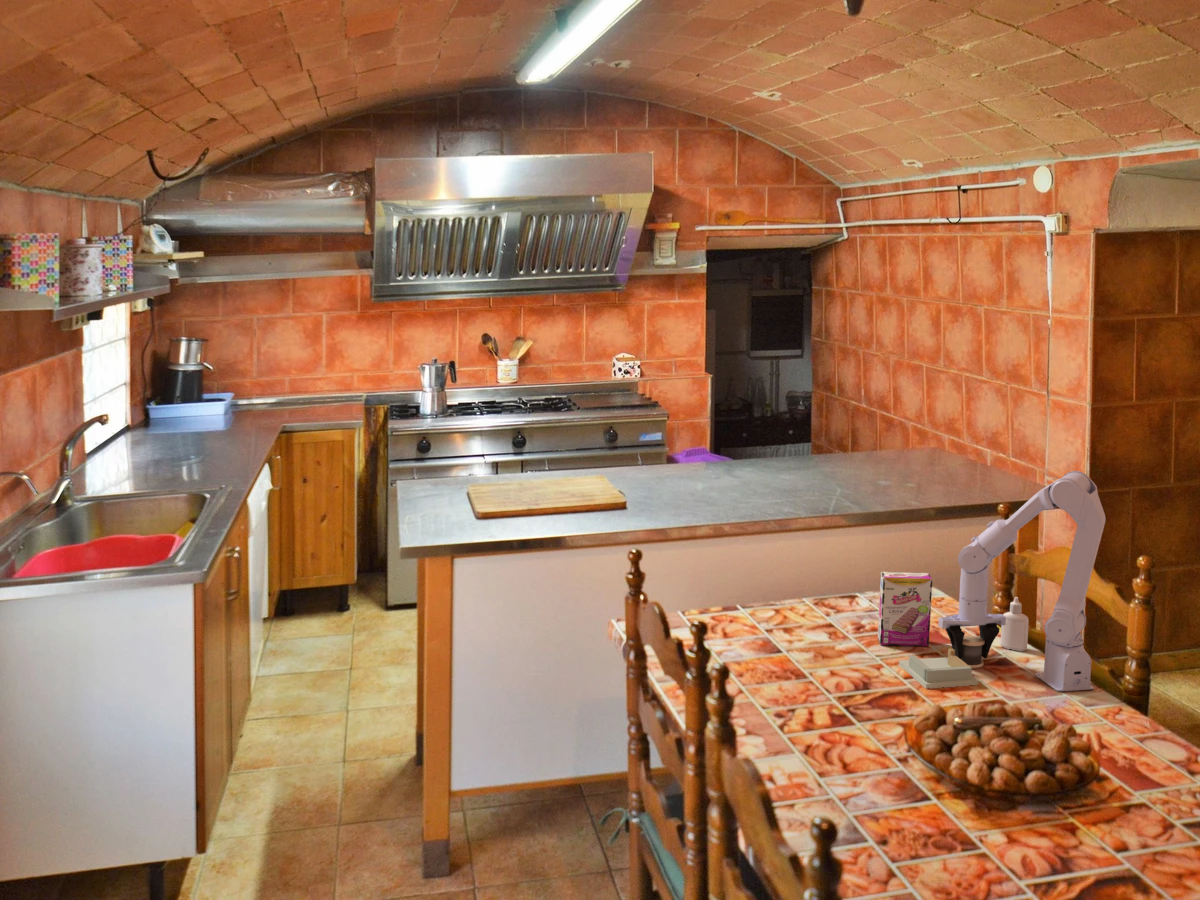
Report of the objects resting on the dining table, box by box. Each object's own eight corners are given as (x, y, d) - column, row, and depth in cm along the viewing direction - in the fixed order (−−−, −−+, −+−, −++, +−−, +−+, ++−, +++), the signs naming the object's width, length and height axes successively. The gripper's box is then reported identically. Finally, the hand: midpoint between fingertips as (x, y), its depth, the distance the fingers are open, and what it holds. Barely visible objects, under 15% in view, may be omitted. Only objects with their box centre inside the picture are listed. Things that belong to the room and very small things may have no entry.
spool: (988, 667, 245) (989, 643, 244) (963, 669, 244) (964, 644, 243) (976, 658, 250) (977, 634, 249) (952, 660, 249) (953, 636, 248)
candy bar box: (880, 646, 259) (882, 577, 256) (877, 638, 263) (879, 571, 261) (930, 647, 257) (933, 578, 255) (926, 640, 262) (929, 571, 260)
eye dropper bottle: (1014, 653, 253) (1017, 602, 251) (997, 645, 258) (999, 595, 256) (1030, 650, 254) (1033, 599, 252) (1012, 643, 260) (1015, 592, 257)
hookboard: (978, 685, 235) (979, 664, 234) (925, 688, 233) (926, 668, 232) (948, 661, 248) (949, 641, 248) (899, 664, 247) (899, 645, 246)
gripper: (995, 590, 249) (993, 649, 252) (933, 594, 247) (931, 653, 250) (1011, 600, 242) (1008, 660, 245) (947, 603, 240) (945, 664, 243)
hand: (970, 657), depth 247 cm, fingers closed on spool, 5 cm apart
